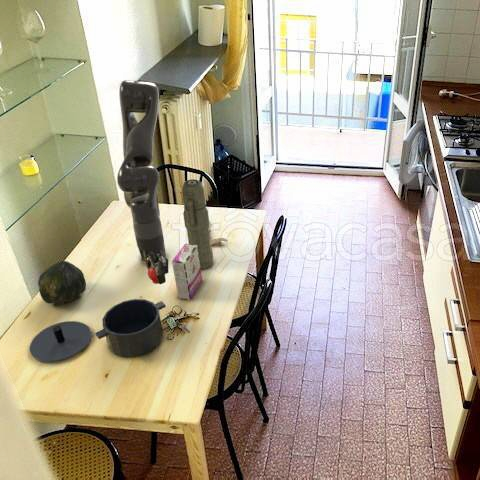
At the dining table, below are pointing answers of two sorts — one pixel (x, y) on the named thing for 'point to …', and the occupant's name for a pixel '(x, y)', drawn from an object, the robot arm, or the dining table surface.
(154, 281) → the strawberry
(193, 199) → the thermos
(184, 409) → the dining table surface
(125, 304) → the pot
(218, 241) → the jawbone
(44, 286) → the squash
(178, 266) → the candy bar box
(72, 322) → the lid
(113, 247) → the dining table surface
